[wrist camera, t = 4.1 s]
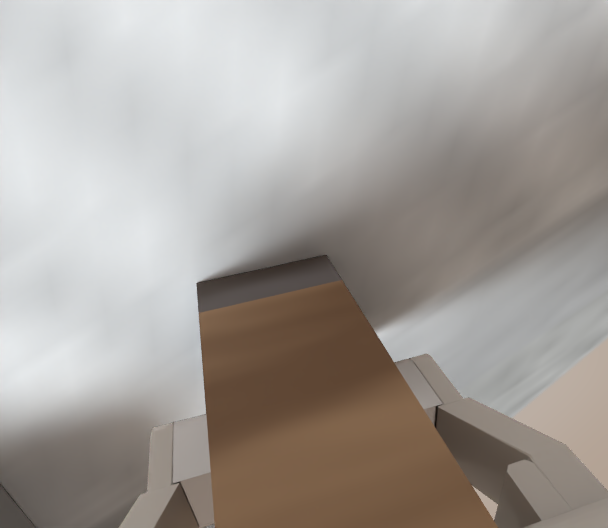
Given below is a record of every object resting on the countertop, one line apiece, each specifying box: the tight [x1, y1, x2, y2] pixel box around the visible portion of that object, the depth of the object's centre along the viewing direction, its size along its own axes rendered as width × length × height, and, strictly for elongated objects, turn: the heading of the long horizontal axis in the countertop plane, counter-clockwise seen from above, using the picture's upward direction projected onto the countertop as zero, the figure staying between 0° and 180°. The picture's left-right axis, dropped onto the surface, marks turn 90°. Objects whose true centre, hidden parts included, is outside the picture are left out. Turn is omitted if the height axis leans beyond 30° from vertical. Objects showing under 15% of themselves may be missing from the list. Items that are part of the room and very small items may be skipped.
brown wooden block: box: [197, 255, 498, 528], centre depth 10 cm, size 4×4×10 cm
